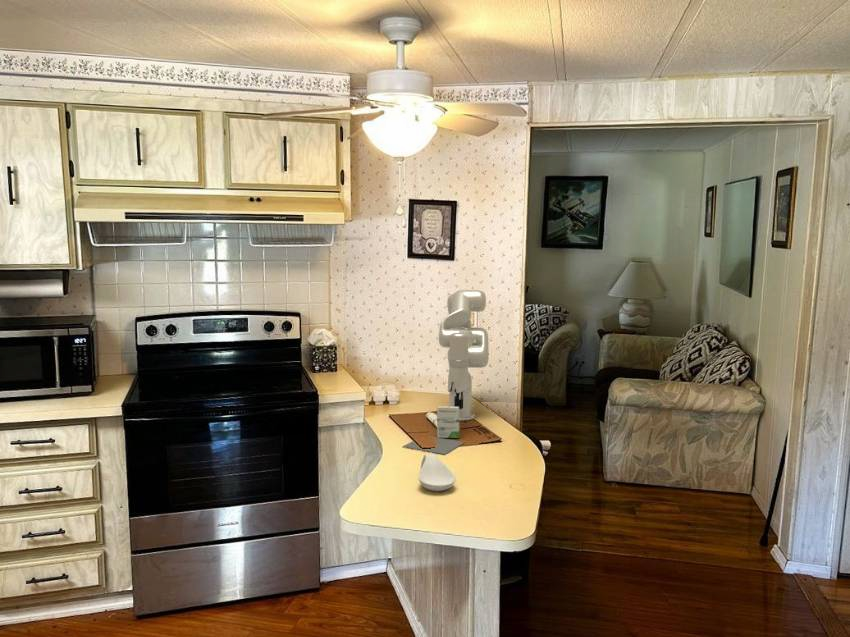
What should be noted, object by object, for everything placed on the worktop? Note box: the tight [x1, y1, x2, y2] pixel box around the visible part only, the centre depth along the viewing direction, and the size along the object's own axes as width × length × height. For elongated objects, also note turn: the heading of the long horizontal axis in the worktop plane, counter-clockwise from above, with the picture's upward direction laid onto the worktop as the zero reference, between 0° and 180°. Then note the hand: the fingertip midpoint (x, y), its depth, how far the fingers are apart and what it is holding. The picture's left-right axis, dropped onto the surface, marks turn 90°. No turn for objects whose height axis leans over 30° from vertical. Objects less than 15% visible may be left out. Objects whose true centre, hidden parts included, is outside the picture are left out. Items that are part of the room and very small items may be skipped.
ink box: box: [436, 405, 460, 439], centre depth 270 cm, size 9×5×12 cm, turn 85°
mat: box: [402, 435, 466, 456], centre depth 260 cm, size 16×18×1 cm
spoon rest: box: [418, 453, 457, 492], centre depth 223 cm, size 24×12×7 cm, turn 11°
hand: (458, 408), depth 276 cm, fingers closed
